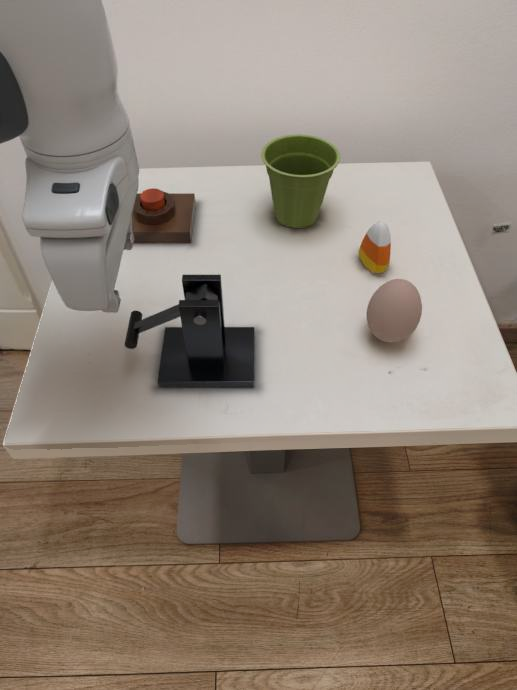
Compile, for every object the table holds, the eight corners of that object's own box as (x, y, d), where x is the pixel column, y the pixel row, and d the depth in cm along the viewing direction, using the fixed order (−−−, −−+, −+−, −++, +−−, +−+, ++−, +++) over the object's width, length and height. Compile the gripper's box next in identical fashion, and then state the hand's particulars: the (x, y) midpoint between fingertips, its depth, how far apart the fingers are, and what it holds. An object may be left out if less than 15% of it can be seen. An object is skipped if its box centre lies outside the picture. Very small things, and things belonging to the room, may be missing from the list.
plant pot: (346, 215, 86) (356, 153, 78) (298, 248, 81) (304, 186, 72) (293, 185, 92) (297, 125, 83) (246, 215, 86) (244, 153, 77)
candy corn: (391, 273, 78) (403, 231, 71) (374, 279, 77) (385, 237, 71) (369, 249, 81) (379, 207, 75) (353, 255, 80) (361, 212, 74)
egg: (421, 347, 69) (441, 296, 61) (375, 360, 67) (390, 310, 60) (397, 311, 73) (413, 259, 65) (353, 322, 71) (364, 271, 64)
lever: (132, 352, 62) (119, 342, 61) (138, 321, 65) (125, 310, 64) (216, 319, 58) (204, 306, 56) (218, 287, 61) (207, 274, 59)
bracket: (158, 387, 65) (140, 320, 55) (166, 332, 70) (151, 262, 60) (254, 387, 65) (253, 320, 55) (254, 332, 70) (254, 262, 60)
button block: (115, 243, 82) (109, 222, 79) (125, 204, 88) (120, 184, 85) (191, 243, 82) (188, 222, 79) (195, 204, 88) (193, 184, 85)
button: (140, 211, 81) (138, 202, 80) (143, 197, 83) (141, 188, 82) (163, 211, 81) (162, 202, 80) (166, 197, 83) (164, 188, 82)
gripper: (74, 100, 51) (107, 214, 62) (14, 235, 38) (69, 349, 49) (138, 100, 51) (159, 214, 62) (99, 234, 38) (135, 348, 49)
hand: (119, 275), depth 56 cm, fingers open, 8 cm apart
